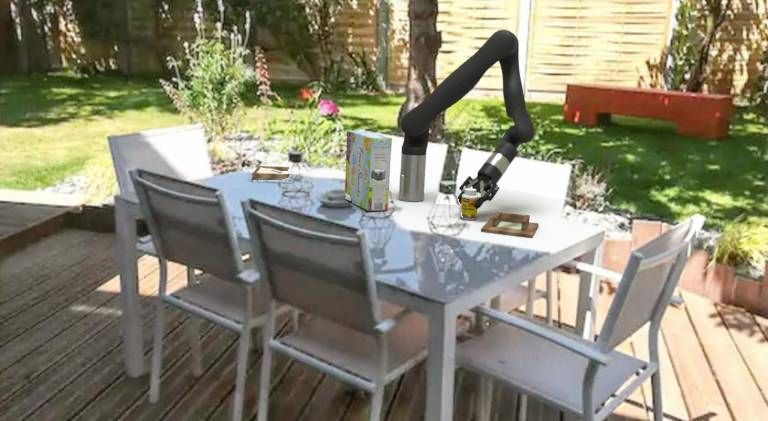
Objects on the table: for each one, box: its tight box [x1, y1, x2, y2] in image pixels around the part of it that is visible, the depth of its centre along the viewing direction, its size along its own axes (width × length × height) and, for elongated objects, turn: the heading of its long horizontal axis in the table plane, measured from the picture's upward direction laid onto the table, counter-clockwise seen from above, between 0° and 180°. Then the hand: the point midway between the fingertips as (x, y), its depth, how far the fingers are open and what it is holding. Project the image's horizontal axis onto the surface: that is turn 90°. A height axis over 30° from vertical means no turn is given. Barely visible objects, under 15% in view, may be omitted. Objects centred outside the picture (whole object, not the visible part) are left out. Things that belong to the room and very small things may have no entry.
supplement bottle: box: [460, 187, 479, 221], centre depth 241 cm, size 6×6×10 cm
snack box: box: [344, 130, 393, 212], centre depth 253 cm, size 22×9×26 cm, turn 26°
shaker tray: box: [251, 165, 290, 181], centre depth 295 cm, size 16×17×4 cm
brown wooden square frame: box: [480, 211, 540, 239], centre depth 230 cm, size 16×16×4 cm
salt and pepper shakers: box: [257, 167, 283, 174], centre depth 294 cm, size 12×4×11 cm
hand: (466, 204), depth 240 cm, fingers open, 8 cm apart
